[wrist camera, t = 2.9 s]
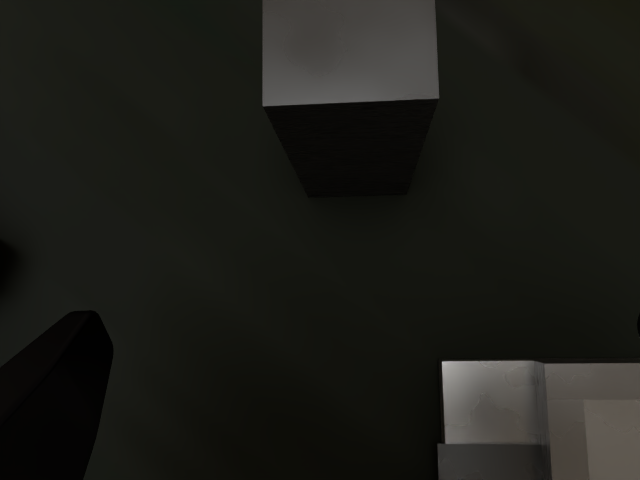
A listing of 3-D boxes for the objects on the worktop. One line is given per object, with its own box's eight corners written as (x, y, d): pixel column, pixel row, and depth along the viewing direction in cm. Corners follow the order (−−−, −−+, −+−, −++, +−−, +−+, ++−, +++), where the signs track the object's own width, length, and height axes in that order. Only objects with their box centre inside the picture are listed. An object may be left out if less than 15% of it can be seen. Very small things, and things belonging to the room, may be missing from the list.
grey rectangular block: (406, 194, 22) (438, 98, 12) (308, 197, 22) (262, 106, 12) (403, 108, 23) (432, -52, 13) (307, 112, 23) (262, -41, 13)
